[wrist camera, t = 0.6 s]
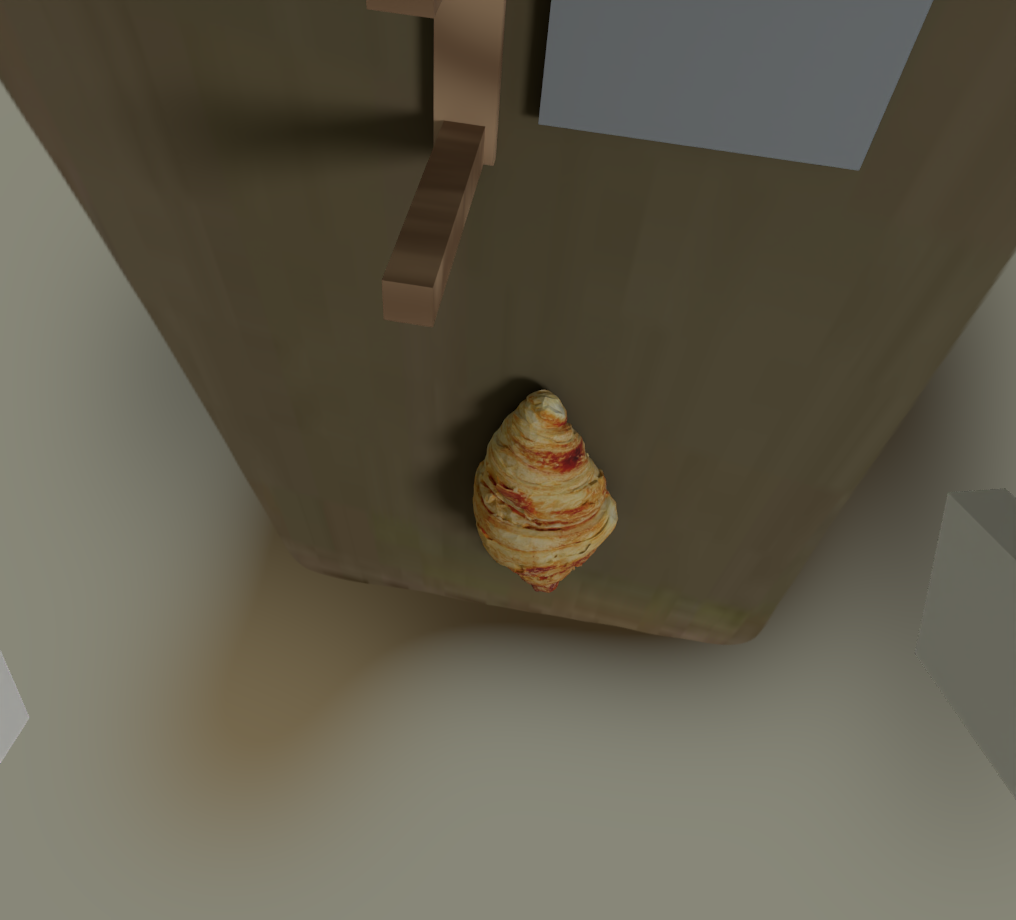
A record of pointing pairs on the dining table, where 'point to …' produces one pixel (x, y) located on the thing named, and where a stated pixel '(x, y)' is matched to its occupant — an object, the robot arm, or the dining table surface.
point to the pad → (730, 72)
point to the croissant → (541, 495)
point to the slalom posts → (447, 149)
